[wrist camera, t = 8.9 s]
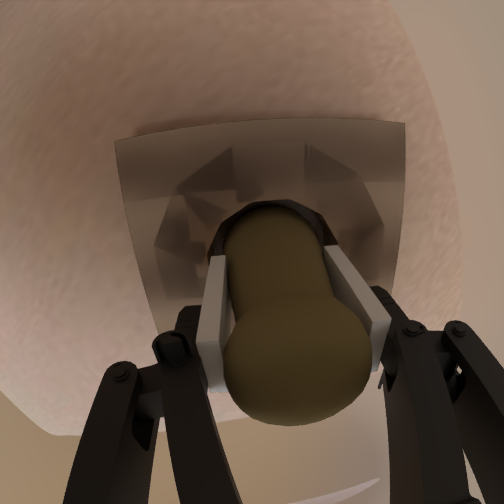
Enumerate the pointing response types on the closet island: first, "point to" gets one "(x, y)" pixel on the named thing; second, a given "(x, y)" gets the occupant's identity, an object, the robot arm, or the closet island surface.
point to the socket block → (258, 195)
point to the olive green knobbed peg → (288, 324)
